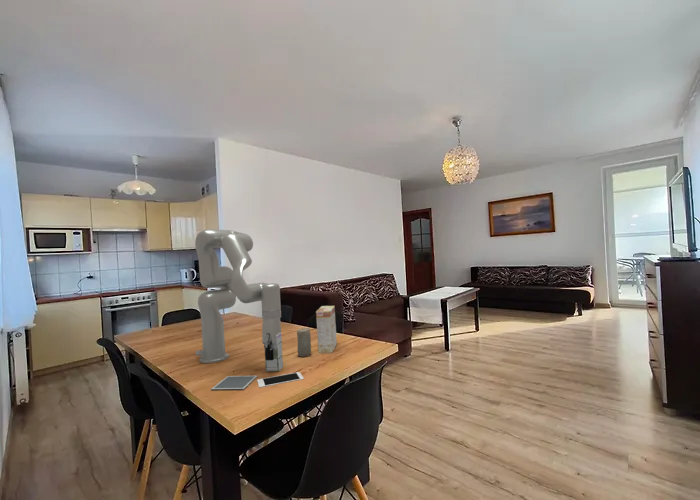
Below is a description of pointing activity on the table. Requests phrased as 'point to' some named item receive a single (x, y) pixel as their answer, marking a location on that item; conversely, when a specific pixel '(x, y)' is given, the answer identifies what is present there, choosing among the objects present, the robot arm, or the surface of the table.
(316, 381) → the table surface
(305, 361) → the table surface
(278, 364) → the syrup box
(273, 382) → the cell phone
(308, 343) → the carving
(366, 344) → the table surface
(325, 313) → the coffeecake box
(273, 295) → the robot arm
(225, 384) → the mat
